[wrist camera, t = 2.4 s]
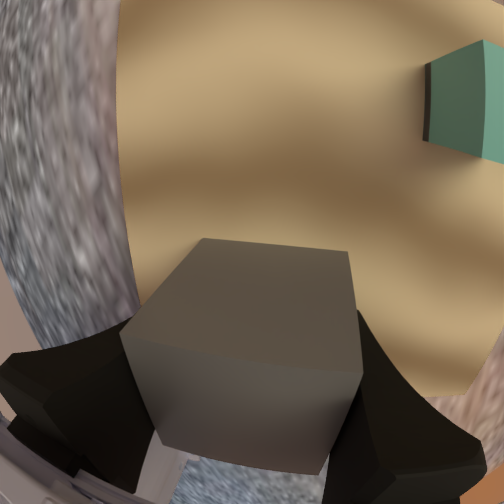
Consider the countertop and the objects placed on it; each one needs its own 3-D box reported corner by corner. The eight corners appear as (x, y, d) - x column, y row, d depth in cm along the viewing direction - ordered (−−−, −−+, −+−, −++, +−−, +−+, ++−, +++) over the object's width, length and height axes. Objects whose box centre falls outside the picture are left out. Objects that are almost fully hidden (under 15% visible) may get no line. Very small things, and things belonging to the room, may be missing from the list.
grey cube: (326, 359, 12) (318, 475, 7) (211, 344, 13) (162, 445, 8) (347, 251, 10) (363, 373, 5) (203, 237, 11) (119, 332, 6)
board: (461, 384, 13) (464, 394, 12) (161, 354, 16) (155, 364, 15) (538, 34, 5) (548, 31, 4) (132, -8, 8) (122, -13, 7)
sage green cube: (485, 155, 8) (556, 182, 4) (422, 140, 8) (481, 158, 4) (489, 84, 6) (561, 79, 3) (424, 64, 7) (483, 39, 3)
